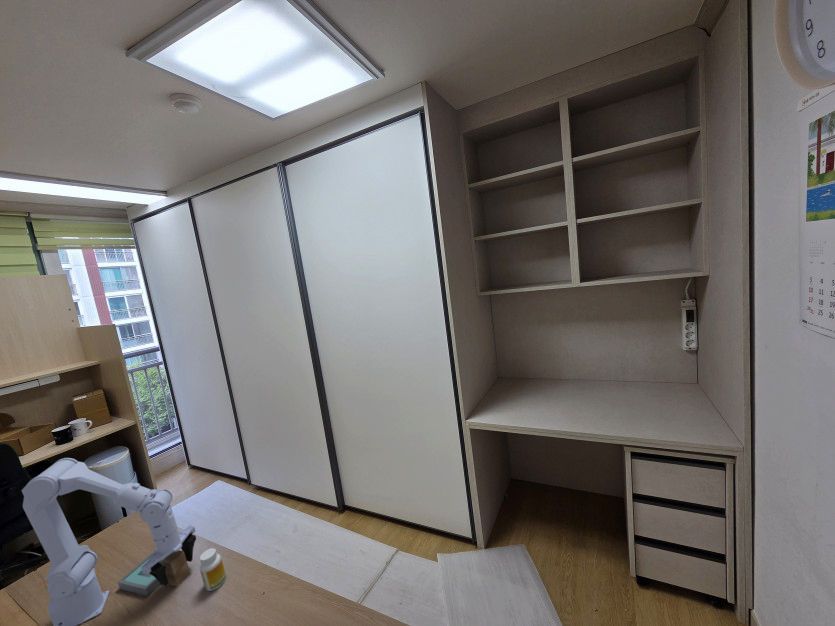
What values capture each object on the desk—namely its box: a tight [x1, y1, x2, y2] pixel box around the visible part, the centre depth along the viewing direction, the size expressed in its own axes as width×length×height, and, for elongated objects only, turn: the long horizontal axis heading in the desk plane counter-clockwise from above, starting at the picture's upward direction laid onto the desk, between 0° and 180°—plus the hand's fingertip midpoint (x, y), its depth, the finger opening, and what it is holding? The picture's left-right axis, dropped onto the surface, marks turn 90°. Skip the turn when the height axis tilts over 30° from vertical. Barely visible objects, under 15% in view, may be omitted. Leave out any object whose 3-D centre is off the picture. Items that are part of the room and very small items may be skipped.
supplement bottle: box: [199, 547, 227, 592], centre depth 96 cm, size 5×5×10 cm
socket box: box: [117, 549, 163, 597], centre depth 103 cm, size 12×12×2 cm
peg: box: [161, 549, 191, 588], centre depth 99 cm, size 4×4×8 cm
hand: (177, 571), depth 99 cm, fingers open, 7 cm apart
